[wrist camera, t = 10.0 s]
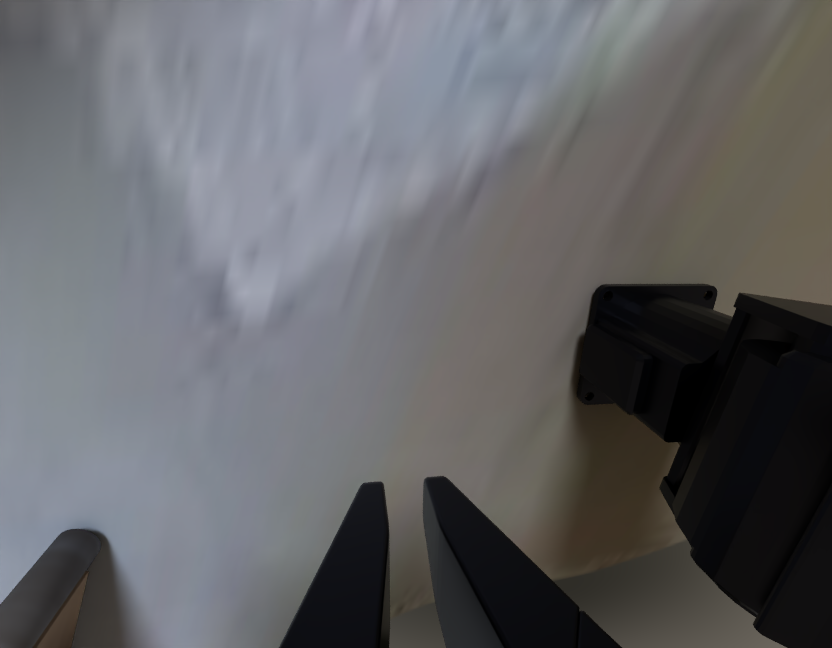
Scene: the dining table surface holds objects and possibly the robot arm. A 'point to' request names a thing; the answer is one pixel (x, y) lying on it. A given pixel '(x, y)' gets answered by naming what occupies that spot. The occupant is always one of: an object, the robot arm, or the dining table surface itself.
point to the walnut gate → (49, 595)
